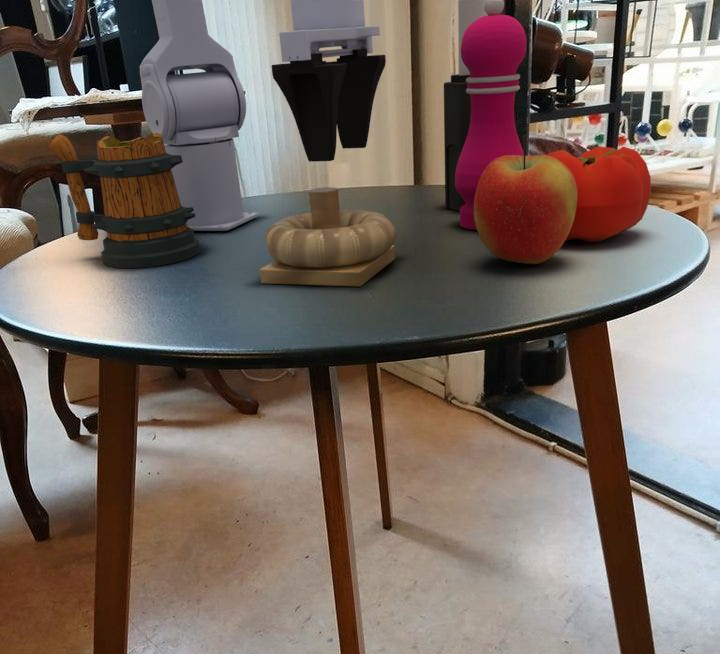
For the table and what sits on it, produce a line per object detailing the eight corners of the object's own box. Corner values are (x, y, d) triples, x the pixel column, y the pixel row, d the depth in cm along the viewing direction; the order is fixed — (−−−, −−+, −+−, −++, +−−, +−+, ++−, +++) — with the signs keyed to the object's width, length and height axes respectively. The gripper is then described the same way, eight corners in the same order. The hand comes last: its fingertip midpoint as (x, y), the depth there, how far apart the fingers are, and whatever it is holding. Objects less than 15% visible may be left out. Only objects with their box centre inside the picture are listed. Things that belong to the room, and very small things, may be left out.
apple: (585, 254, 66) (595, 126, 61) (555, 279, 60) (562, 139, 55) (496, 249, 70) (498, 128, 65) (459, 271, 64) (459, 140, 59)
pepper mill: (540, 225, 77) (551, -12, 67) (476, 235, 75) (478, -8, 65) (503, 214, 83) (508, -5, 73) (442, 223, 81) (439, -1, 71)
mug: (215, 241, 80) (196, 120, 75) (185, 266, 72) (161, 131, 66) (98, 247, 82) (70, 129, 76) (54, 272, 73) (19, 141, 68)
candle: (441, 207, 88) (437, -56, 76) (479, 200, 90) (481, -58, 78) (464, 213, 84) (464, -64, 72) (504, 206, 86) (510, -65, 74)
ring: (245, 270, 64) (240, 233, 63) (300, 239, 73) (297, 206, 72) (369, 273, 60) (366, 234, 59) (411, 241, 69) (410, 206, 68)
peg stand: (260, 283, 65) (249, 200, 61) (304, 256, 72) (296, 181, 69) (360, 287, 62) (354, 199, 58) (395, 258, 69) (392, 179, 66)
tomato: (530, 252, 67) (534, 161, 64) (524, 226, 77) (527, 144, 73) (657, 248, 66) (668, 154, 62) (635, 221, 75) (644, 138, 72)
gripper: (337, -49, 52) (351, 166, 59) (402, -37, 63) (408, 141, 70) (245, -38, 54) (269, 167, 61) (324, -29, 66) (337, 143, 73)
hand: (338, 154), depth 66 cm, fingers open, 7 cm apart
